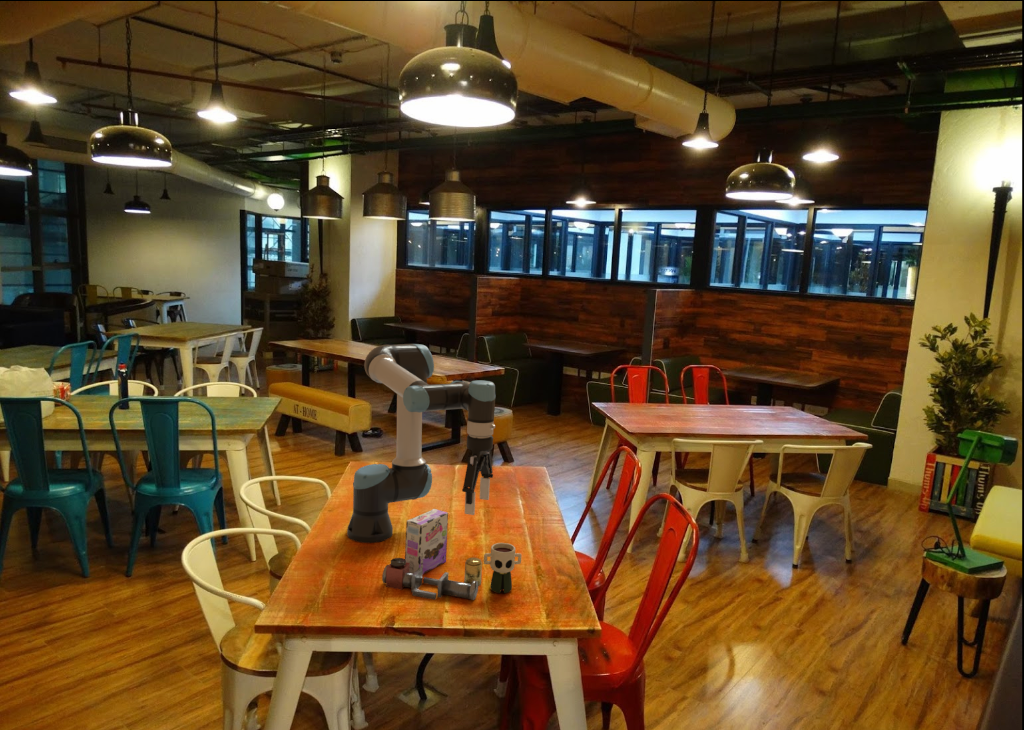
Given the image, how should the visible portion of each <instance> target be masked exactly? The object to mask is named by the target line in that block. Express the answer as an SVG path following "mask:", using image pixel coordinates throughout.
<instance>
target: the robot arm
mask: <svg viewBox="0 0 1024 730" xmlns="http://www.w3.org/2000/svg"><path fill="white" fill-rule="evenodd" d="M364 370H365V373H366V376H368V377H369V378H370V379H371V380H372V381H374V382H375V383H377V384H383V385H385V386H386V387H387V388H389V389H390V390H392V391H393V392H394V393H395V394H396V456H395V457H394V458H393V459H392V460H391V467H389V466H388V465H387V464H383V463H378V464H377V463H373V464H368V465H364V466H362V467H359V468H358V469H357V470H356V471H355V472H354V475H353V482H352V487H353V488H352V489H353V494H352V496H353V498H352V499H353V500H352V503H353V504H352V515H351V517H350V520H349V523H348V525H347V531H346V532H347V533H346V534H347V535H346V536H347V538H348V539H350V540H351V541H353V542H357V543H362V544H363V543H364V544H366V543H367V544H369V543H370V544H371V543H380V542H385V541H387V540H389V539H390V538H392V536H393V534H394V533H393V531H394V530H393V529H394V527H393V524H392V521H391V517H390V515H389V504H391V503H397V502H403V501H409V500H410V501H411V500H412V501H413V500H417V499H420V498H424V497H425V496H427V495H428V494H429V493H430V490H431V488H432V485H433V473H432V469H431V467H430V465H429V464H427V463H426V462H427V461H426V459H424V458H423V456H422V449H423V448H422V443H423V440H422V438H423V437H422V436H423V435H422V432H423V430H422V429H423V413H424V412H435V411H444V410H445V411H446V410H447V411H448V410H461V409H462V410H464V411H465V410H466V411H467V425H466V427H467V428H466V433H467V436H466V448H467V449H468V450H471V452H472V453H471V455H469V456H467V463H466V464H467V465H466V470H465V476H464V482H463V486H462V488H461V491H462V492H463V493H464V494H465V496H464V515H471V516H475V511H476V491H475V489H476V486H477V483H478V482H477V481H478V478H479V473H480V474H481V477H480V481H479V485H480V486H479V500H483V501H484V500H485V501H489V500H490V485H491V479H493V477H494V474H493V473H494V472H493V465H492V463H493V462H492V456H491V450H492V449H493V448H494V437H493V435H494V429H496V425H495V423H494V422H495V409H496V408H495V407H496V406H495V405H496V397H497V396H496V385H495V383H494V382H493V381H490V380H477V379H476V380H472V381H470V382H469V383H468V382H466V381H463V380H453V381H452V382H450V383H440V384H439V383H437V384H429V383H428V379H429V378H431V377H432V376H433V373H434V372H435V371H434V370H435V361H434V358H433V354H432V353H431V351H430V349H429V348H428V346H427V345H424V344H419V343H404V344H403V343H402V344H400V343H399V344H383V345H382V344H381V345H378V346H376V347H374V348H373V349H371V350H370V351H369V352H368V354H367V355H366V357H365V360H364Z"/></svg>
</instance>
